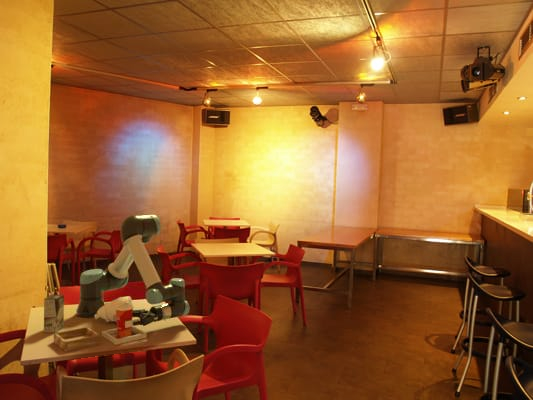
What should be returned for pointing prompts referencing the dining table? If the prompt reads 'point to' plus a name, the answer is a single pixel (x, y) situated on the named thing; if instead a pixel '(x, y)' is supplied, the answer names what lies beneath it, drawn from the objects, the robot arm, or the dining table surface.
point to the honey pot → (111, 308)
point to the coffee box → (53, 313)
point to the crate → (76, 338)
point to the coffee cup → (123, 319)
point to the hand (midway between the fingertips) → (118, 321)
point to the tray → (126, 339)
